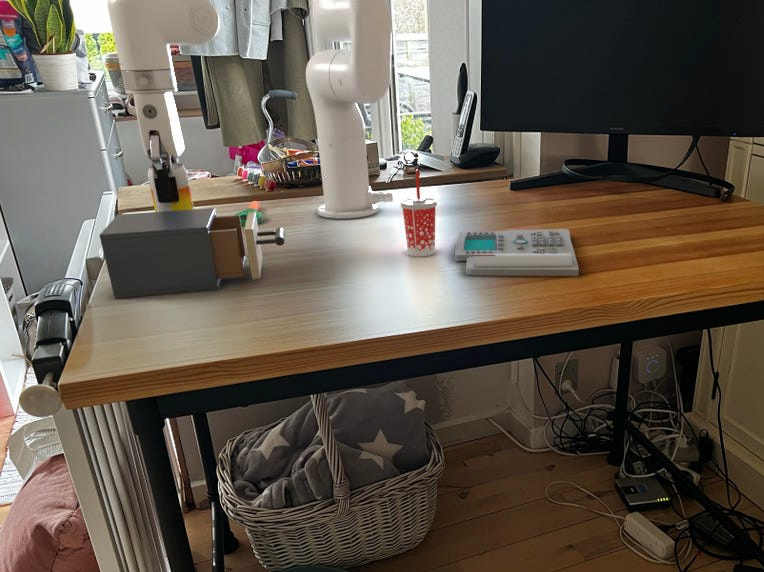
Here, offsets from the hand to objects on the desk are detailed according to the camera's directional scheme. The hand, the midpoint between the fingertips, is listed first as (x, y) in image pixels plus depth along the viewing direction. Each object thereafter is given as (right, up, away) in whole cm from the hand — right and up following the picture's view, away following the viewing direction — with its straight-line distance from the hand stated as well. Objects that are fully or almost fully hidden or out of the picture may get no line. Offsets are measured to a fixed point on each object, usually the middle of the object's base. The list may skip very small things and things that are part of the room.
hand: (172, 196), depth 121 cm
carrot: (+4, +2, +30) cm, 31 cm away
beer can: (0, -9, +4) cm, 10 cm away
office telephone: (+57, -10, +2) cm, 58 cm away
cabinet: (+3, -15, -7) cm, 17 cm away
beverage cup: (+41, -9, +5) cm, 42 cm away
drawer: (+12, -13, -6) cm, 18 cm away
